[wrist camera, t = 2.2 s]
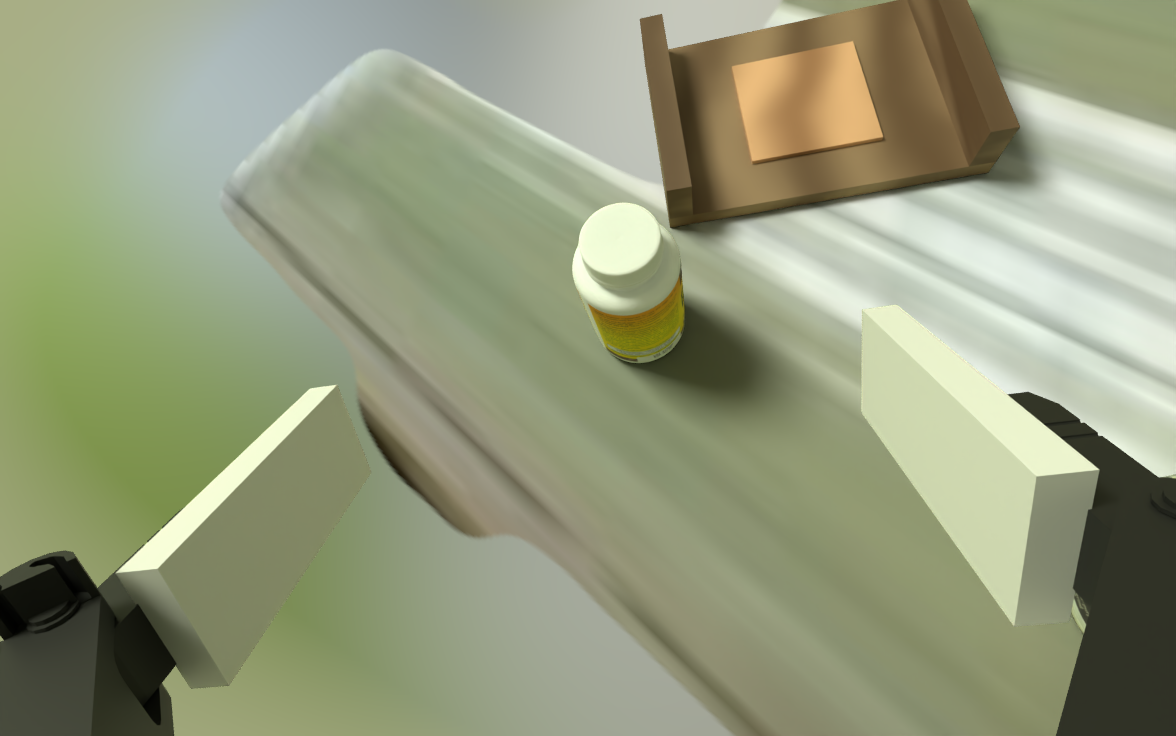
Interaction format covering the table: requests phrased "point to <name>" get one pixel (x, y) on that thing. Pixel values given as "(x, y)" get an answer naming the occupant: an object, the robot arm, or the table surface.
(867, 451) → the table surface
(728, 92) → the wooden tray with rails
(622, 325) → the supplement bottle
